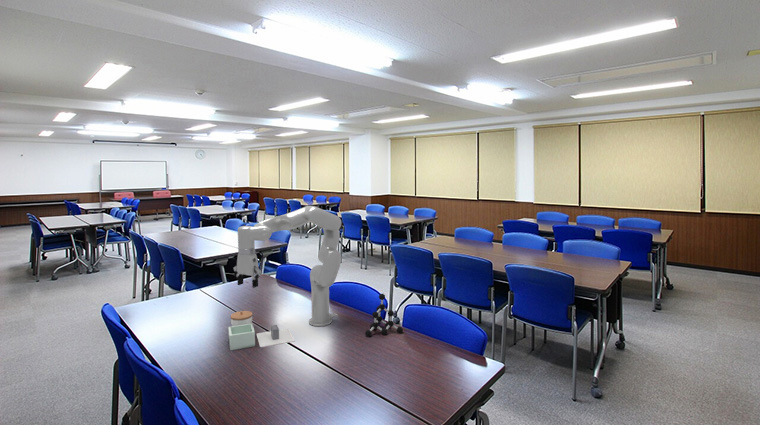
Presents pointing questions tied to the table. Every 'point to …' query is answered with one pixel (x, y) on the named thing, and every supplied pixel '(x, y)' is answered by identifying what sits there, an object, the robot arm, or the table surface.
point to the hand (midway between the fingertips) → (247, 285)
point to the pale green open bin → (241, 336)
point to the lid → (274, 337)
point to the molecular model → (379, 319)
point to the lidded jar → (241, 318)
